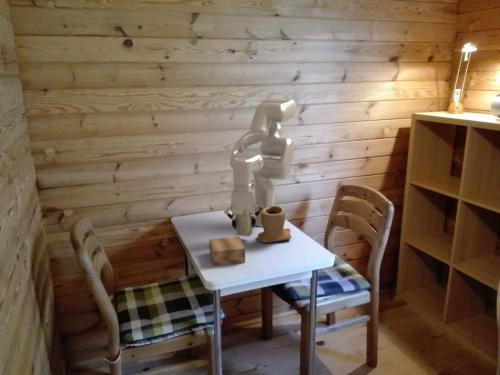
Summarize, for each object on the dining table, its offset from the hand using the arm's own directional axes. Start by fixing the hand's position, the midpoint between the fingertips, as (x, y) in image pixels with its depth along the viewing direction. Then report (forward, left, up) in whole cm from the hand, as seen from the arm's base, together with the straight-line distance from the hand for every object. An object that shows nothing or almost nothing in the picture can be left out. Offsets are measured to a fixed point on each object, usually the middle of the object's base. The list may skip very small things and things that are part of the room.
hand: (243, 226), depth 173 cm
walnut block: (+10, +16, -6) cm, 20 cm away
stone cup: (-13, +3, -6) cm, 15 cm away
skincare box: (0, 0, -4) cm, 4 cm away
